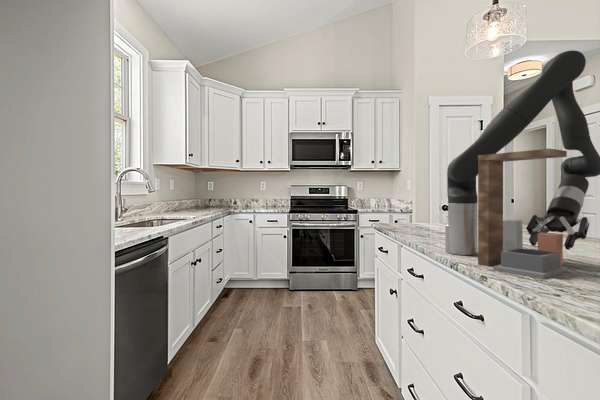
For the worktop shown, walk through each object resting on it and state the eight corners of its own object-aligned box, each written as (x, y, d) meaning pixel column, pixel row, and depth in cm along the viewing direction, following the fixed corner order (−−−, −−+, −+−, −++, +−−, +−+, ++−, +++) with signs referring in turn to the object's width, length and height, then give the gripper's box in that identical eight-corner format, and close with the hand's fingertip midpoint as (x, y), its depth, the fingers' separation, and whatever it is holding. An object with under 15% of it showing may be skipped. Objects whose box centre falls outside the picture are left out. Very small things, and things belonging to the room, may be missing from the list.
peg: (537, 265, 102) (537, 233, 102) (544, 263, 104) (544, 232, 104) (555, 267, 98) (555, 235, 98) (562, 265, 100) (562, 234, 100)
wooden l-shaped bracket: (476, 264, 103) (476, 155, 102) (494, 261, 108) (494, 157, 108) (548, 277, 87) (549, 148, 87) (565, 271, 93) (566, 151, 92)
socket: (493, 270, 96) (493, 251, 95) (518, 264, 103) (518, 246, 103) (543, 278, 86) (543, 258, 85) (567, 271, 93) (567, 252, 93)
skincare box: (508, 255, 117) (508, 219, 117) (522, 257, 114) (523, 220, 114) (502, 258, 113) (502, 220, 112) (517, 260, 110) (517, 221, 109)
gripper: (535, 195, 111) (517, 234, 105) (592, 195, 99) (575, 239, 93) (543, 212, 114) (526, 251, 108) (598, 213, 102) (583, 257, 96)
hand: (549, 245), depth 101 cm, fingers open, 8 cm apart
